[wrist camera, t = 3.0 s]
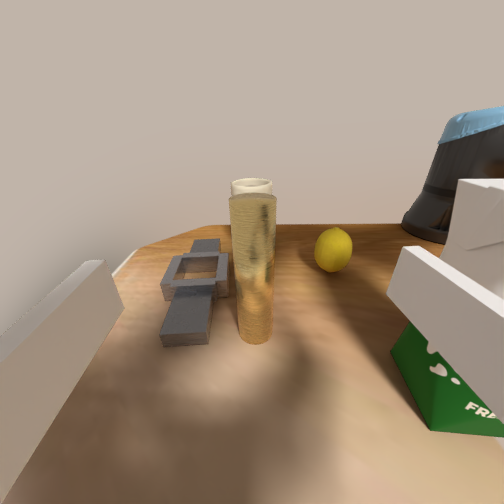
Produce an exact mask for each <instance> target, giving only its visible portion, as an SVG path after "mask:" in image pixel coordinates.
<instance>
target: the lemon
mask: <svg viewBox="0 0 504 504" xmlns="http://www.w3.org/2000/svg"><path fill="white" fill-rule="evenodd" d="M351 255H352V241H351V239H350V237H349V235H348V234H347V233H346V232H345V231H343V230H341V229H340V228H339V227H334V228H332V229H328V230H326V231H324V232H323V233H322V234H321V235H320V236H319V237H318V239H317V241H316V244H315V249H314V257H315V260H316V262H317V264H318V265H319V267H320V268H322V269H323V270H325V271H327V272H329V273H330V272H336V271H339V270H341V269H343V268H344V267H345V266H346V265H347V264H348V262H349V261H350V258H351Z"/></svg>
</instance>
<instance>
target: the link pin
mask: <svg viewBox="0 0 504 504" xmlns="http://www.w3.org/2000/svg"><path fill="white" fill-rule="evenodd" d="M229 208H230V220H231V234H232V247H233V260H234V273H235V286H236V299H237V312H238V325H239V334H240V337H241V338H242V339H243V340H244V341H245V342H247V343H249V344H254V345H257V344H262V343H264V342H266V341H268V340H269V339H270V337H271V335H272V327H273V295H274V262H275V230H276V197H275V196H273V195H271V194H267V193H242V194H237V195H234V196H232V197H230V198H229Z"/></svg>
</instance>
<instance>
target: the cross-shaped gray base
mask: <svg viewBox="0 0 504 504" xmlns="http://www.w3.org/2000/svg"><path fill="white" fill-rule="evenodd" d="M220 250H221V244H220V239H201V240H194V243H193V245H192V248H191V251H190V253H184V254H183V255H181V256H173V258H172V260H171V262H170V265H169V267H168V269H167V271H166V273H165V275H164V277H163V279H162V281H161V283H160V286H161V289H162V293H163V296H164V299H165V301H170V300H172V302H171V305H170V307H169V310H168V313H167V315H166V318H165V321H164V324H163V326H162V329H161V332H160V334H159V335H160V338H161V341H162V344H163V347H170V346H185V345H200V344H208V342H209V334H210V327H211V319H212V311H213V304H214V301H217V300H218V298H220V297H228V291H229V271H230V266H229V255H228V253H220ZM211 271H217V274H216V278H200V279H183V278H184V275H185V273H193V272H211Z"/></svg>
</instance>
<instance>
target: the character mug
mask: <svg viewBox="0 0 504 504" xmlns="http://www.w3.org/2000/svg"><path fill="white" fill-rule="evenodd" d="M242 193H267V194H271V195H272V182H271V181H270V180H267V179H260V178H247V179H239V180H235V181H233V182H232V183H231V195H232V196H234V195H237V194H242Z"/></svg>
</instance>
